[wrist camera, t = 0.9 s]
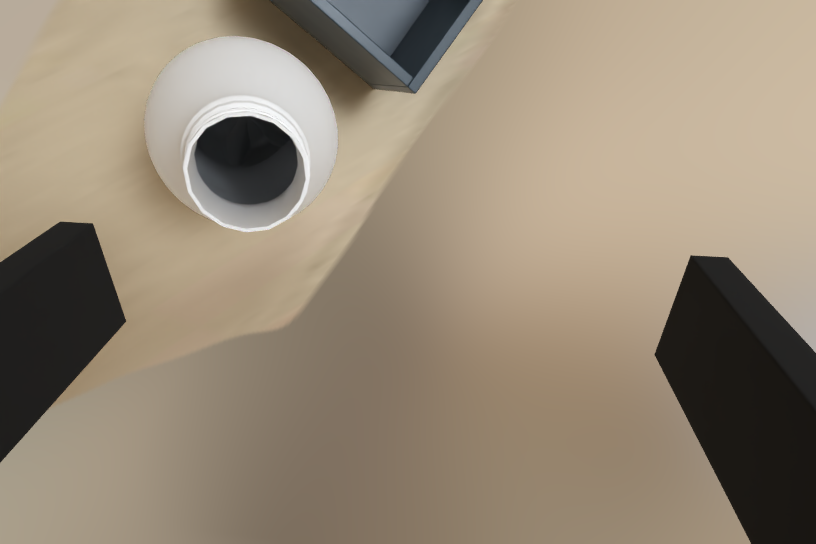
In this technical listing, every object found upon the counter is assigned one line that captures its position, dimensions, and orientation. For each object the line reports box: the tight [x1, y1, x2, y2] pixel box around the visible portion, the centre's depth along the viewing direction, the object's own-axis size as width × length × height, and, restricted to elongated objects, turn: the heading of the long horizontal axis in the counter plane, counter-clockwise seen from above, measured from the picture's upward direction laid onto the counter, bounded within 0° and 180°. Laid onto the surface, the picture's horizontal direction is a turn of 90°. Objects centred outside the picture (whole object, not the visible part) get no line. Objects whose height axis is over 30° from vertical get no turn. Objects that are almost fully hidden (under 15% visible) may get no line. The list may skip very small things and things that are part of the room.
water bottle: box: [144, 36, 338, 232], centre depth 24 cm, size 7×7×25 cm
